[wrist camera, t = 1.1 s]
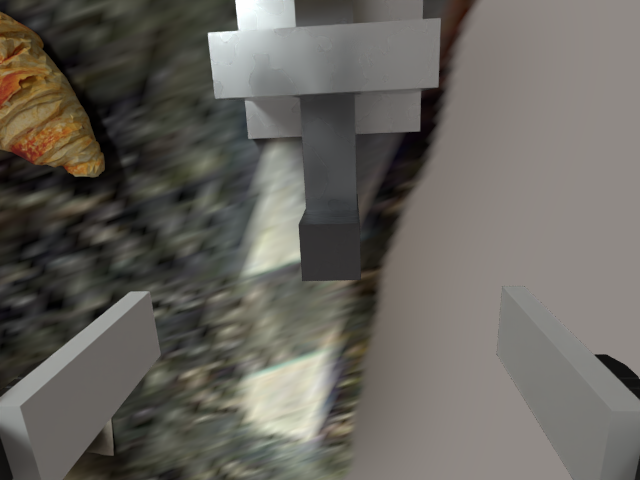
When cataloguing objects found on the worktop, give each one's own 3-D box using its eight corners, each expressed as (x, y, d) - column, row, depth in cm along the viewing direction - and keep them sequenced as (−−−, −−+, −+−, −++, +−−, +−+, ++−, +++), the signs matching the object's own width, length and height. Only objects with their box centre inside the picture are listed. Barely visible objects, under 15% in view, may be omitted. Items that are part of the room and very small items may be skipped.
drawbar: (294, -142, 24) (268, -258, 16) (350, -147, 24) (350, -268, 16) (314, 238, 31) (302, 280, 23) (358, 237, 30) (360, 279, 23)
